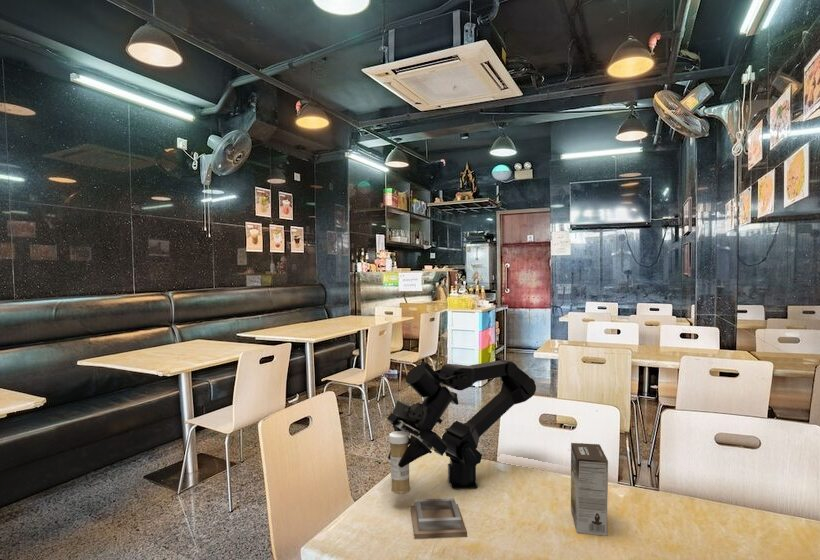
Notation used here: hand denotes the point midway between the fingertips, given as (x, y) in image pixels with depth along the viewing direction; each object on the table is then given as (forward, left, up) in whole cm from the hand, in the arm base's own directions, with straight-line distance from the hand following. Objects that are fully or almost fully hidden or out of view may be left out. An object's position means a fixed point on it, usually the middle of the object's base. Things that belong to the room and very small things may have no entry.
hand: (394, 462), depth 104 cm
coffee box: (-42, +10, -11) cm, 45 cm away
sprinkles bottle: (-1, 0, -7) cm, 7 cm away
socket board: (-9, +7, -10) cm, 16 cm away
